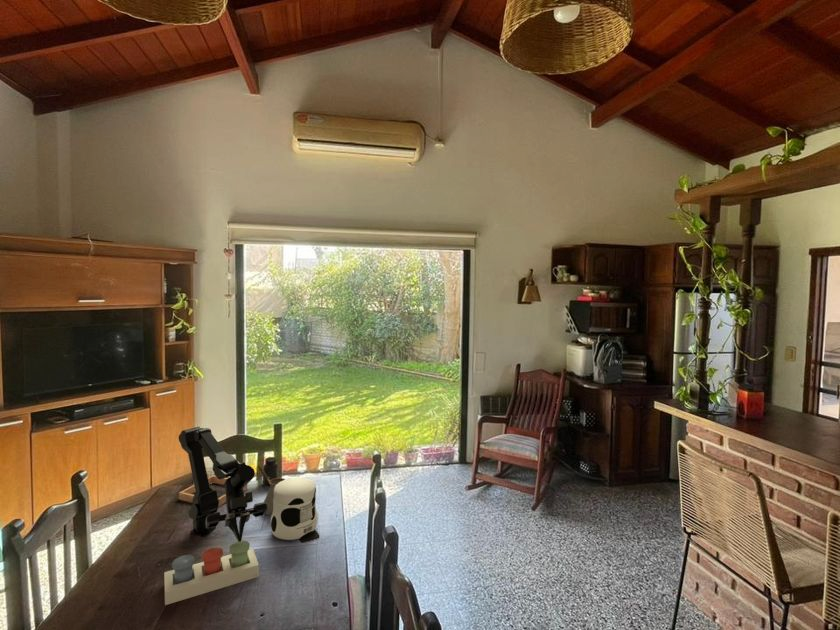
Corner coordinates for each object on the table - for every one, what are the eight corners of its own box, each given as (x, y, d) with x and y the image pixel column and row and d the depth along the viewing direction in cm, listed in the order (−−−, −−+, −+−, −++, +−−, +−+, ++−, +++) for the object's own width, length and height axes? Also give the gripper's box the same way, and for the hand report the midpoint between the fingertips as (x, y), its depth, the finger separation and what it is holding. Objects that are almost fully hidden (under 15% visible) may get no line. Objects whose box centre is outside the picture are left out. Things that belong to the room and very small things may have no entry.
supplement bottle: (263, 487, 199) (263, 462, 199) (261, 481, 205) (261, 457, 205) (278, 485, 203) (279, 460, 202) (276, 479, 209) (276, 455, 208)
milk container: (279, 518, 174) (280, 475, 172) (322, 520, 173) (323, 477, 172) (263, 544, 156) (263, 496, 155) (310, 546, 156) (311, 498, 155)
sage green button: (228, 561, 141) (228, 543, 141) (247, 556, 145) (247, 538, 144) (230, 572, 136) (231, 553, 136) (250, 566, 139) (251, 548, 139)
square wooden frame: (178, 499, 186) (178, 492, 186) (212, 481, 204) (212, 475, 204) (215, 508, 180) (215, 501, 180) (247, 488, 198) (247, 482, 198)
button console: (164, 584, 134) (164, 572, 134) (252, 559, 147) (252, 548, 147) (164, 605, 125) (164, 592, 125) (258, 576, 139) (258, 564, 139)
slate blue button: (172, 577, 133) (172, 558, 133) (193, 571, 136) (193, 552, 136) (172, 588, 128) (172, 569, 128) (195, 582, 131) (195, 563, 131)
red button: (200, 569, 137) (201, 550, 137) (221, 563, 140) (221, 545, 140) (202, 580, 132) (202, 561, 132) (224, 574, 135) (224, 555, 135)
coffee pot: (296, 511, 180) (297, 476, 179) (271, 521, 171) (271, 485, 170) (269, 494, 194) (269, 461, 193) (244, 503, 185) (245, 469, 184)
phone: (307, 518, 174) (320, 536, 162) (307, 520, 174) (320, 538, 162) (288, 523, 170) (301, 542, 158) (288, 525, 170) (301, 544, 158)
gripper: (206, 490, 139) (210, 541, 130) (266, 479, 148) (273, 525, 140) (204, 503, 146) (207, 552, 137) (261, 491, 156) (268, 536, 147)
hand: (239, 541), depth 140 cm, fingers closed
